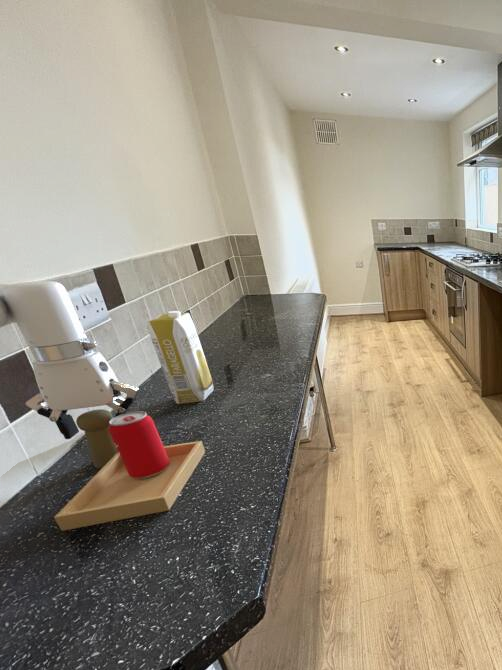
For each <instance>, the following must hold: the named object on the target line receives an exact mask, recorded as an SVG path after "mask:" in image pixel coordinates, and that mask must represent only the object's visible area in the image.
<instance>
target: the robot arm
mask: <svg viewBox="0 0 502 670" xmlns="http://www.w3.org/2000/svg"><path fill="white" fill-rule="evenodd" d="M11 324H17V327H18V329H19V331H20V332H21V334H22V336H23V338H24V340H25V342H26V345H27V346H28V349H29V351H30V352H31V354H32V356H33V358H34V361H32V368H33V374H34V377H35V381H36V384H37V387H38V389H39V393H37V394H35V395H34V396H32V397H31V398H30V399H28V400H27V401H26V402H25V403H24V404H25V406H27V407H28V408H29V409H31V410H33V411H35V412H36V413H37V414H38V415H40V416H43V417H45V418H47V419H48V420H49V421H50V422H53V423H55V425H56V426H57V429H58V431H59V432H60V434H62V435H63V437H64V440H71V439H72V438H73V437H75V436H76V435H77V434H79V432H80V430H79V427H78V425H77V423H76V421H75V419H74V418H73V415H71V414H70V413H69V414H67V413H68V411H70V410H78V409H85V408H94V407H100V406H102V407H103V406H107V407H109V408H110V409H112V410H113V411H115V412H117V413H115V417H116V416H119V415H121V414H125V413H129V412H131V409H130V408H131V407H132V405H133V404H134V403H135V401H136V400H137V396H138V394H139V392H140V389H139V387H138V386H133V385H131V384H127V383H124V382H120V381H119V380H118V378H117V375H116V374H115V372H114V370H113V369H112V367H111V365H110V364H109V362H108V361H107V360H106V358H105V357H104V355H102V353H100V351H94V350H95V349H99V347H100V344H99V342H98V341H96V340H94V341H93V340H90V338H89V337H88V336H87V334H86V332H85V330H84V328H83V326H82V323H81V320H80V318H79V316H78V313H77V311H76V309H75V307H74V305H73V302H72V300H71V298H70V295H69V293H68V291H67V289H66V288H65V286H64V285H63V284H62V283H60V282H57V281H53V280H34V281H25V282H18V283H13V284H12V283H11V284H9V283H5V284H4V283H3V284H1V283H0V328H2V327H5V326H8V325H11ZM124 393H125V394H126V397H125V399H124V398H123V397H122V396H123V394H124ZM43 401H44V402H43Z"/></svg>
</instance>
